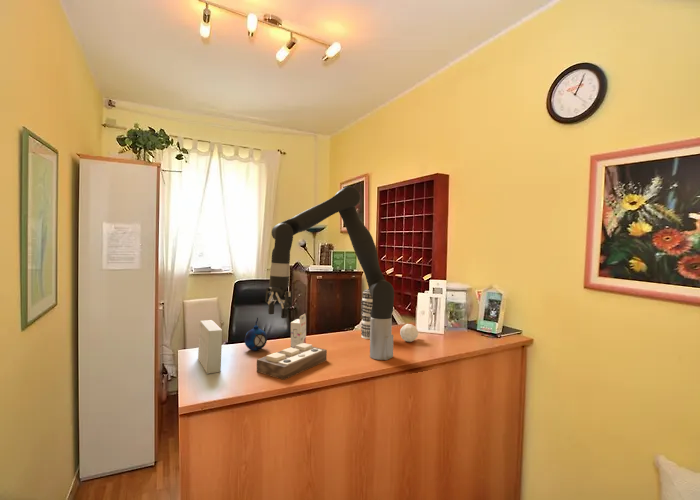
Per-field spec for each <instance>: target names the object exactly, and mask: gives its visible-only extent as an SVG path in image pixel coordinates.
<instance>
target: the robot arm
mask: <svg viewBox="0 0 700 500" xmlns="http://www.w3.org/2000/svg"><path fill="white" fill-rule="evenodd" d="M360 201H361V195H360V191H359V190H358V189H357V188H356V187H354V186H345V187H342V188H341V189H340V190H338V191H337V192H336V193H335V195H333V196H332V197H331V198H328V199H327V200H324V201H323V202H321V203H319V204H316V205H315V206H312V207H310V208H308V209H306V210H304V211H302V212H300V213H298V214H296V215H295V216H293V217H291V218H287V220H284V221H281V222H279V223H277V224H276V225H274V226H273V228H272V229H271V237H272V238H273V239H274V247H273V249H272V252H271V262H270V267H269V269H270V270H269V282H268V283H269V287H266V290H265V303H267V304H268V309H267V310H268V312H267V313H268V315H274V314H275V307H276V306H275V303H276V302H278V303H279V305H280V306H281V315H280V316H281V317H280V318H281V319H287V318H288V311H289V308H292V307H293V292H292V291H287V290H288V288H289V287H290V275H291V273H290V272H291V267H290V263H291V261H290V260H291V250H292V246H293V245H292V244H293V241H294V240H293V239H294V236H295V235H296V234H298V233H302V232H303V233H304V232H305V231H308V230H309V229H311V228H313V227H314V226H316V225H318V224H320V223H321V222H323V221H324V220H326V219H327V218H329V217H331V216H333V215H335V214H337V213H339V215H340V217H341V219H342V221H343V223H344V226H345V228H346V229H345V230H346V231H347V235H348V237H349V240H350V242H351V246H352V248H353V251H354V254H355V256H356V257H357V260H358V262H359V264H360V266H361V269H362V271H363V273H364V276H365V280H366V282H367V287H368V289H369V291H370V294H371V296H372V297H373V301H372V310H371V315H370V316H371V317H370V339H369V357H370V358H371V359H373V360H378V361H380V360H381V361H388V360H390V359H391V358H393V357H394V334H392V331H393V330H392V329H393V327H392V326H393V325H392V322H393V321H392V320H393V319H392V318H393V312H394V303H395V289H394V287H393V285H392V284H391V282H389V281H387V280H386V278H385V277H384V274H383V272H382V270H381V267H380V263H379V255H378V250H377V246H376V244H375V241H374V239H373V236H372V234H371V232H370V231H369V229H368V228H367V227H366V225H364V223H363V222H362V220H361V219H360V217H359V215H358V211H357V209H356V207H357V206H358V205H359V203H360Z"/></svg>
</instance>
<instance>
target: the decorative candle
mask: <svg viewBox="0 0 700 500" xmlns="http://www.w3.org/2000/svg"><path fill="white" fill-rule="evenodd" d="M360 301H361V302H360V304H361V316H362V320H361V325H360V326H361V329H360V330H361V333H360V334H361V338H362V339H365V340H370V317H371V316H370V315H371V310H372V301H373V297H372V296H371V294H370V291H369V288H365V289H364V290H363V291H362V299H361V300H360Z"/></svg>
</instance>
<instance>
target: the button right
mask: <svg viewBox="0 0 700 500" xmlns="http://www.w3.org/2000/svg"><path fill="white" fill-rule="evenodd" d="M312 347H313V344H310V343H307V342H306V343H301V344H299V345H296V346H295V349H299V350H300V351H303V352H305V351H308V350H311V349H312Z"/></svg>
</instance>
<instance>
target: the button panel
mask: <svg viewBox="0 0 700 500" xmlns="http://www.w3.org/2000/svg"><path fill="white" fill-rule="evenodd" d="M290 347H291V346H290ZM291 348H295V346H294V347H291ZM313 348H316V349H320V350H323V351H321V352H318V353H316V354H313V355H311V356H308V357H306V358H303V359H301V360H299V361H296V362H294V363H291V364H289V365H284V364H280V363H278V362H277V363H275V362H271V361H268V360H266V356H263V357H261V358H258V359H256V372H257V373H261V374H264V375H267V376H270V377H273V378H277V379H280V380H283V381H285V380H286V379H289V378H291V377H293V376H295V375H298V374H300V373H302V372H305V371H306V370H309V369H311V368H313V367H315V366H318V365H320V364H323V363H324V362H326V361H328V360H327V357H328V355H327V354H328V353H327V350H328V349H325V348H320V347H317V346H312V349H313ZM277 353H281V354H282V350H280V351H277ZM300 353H303V351H300ZM287 358H290V357H289V356H286V359H287Z"/></svg>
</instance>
